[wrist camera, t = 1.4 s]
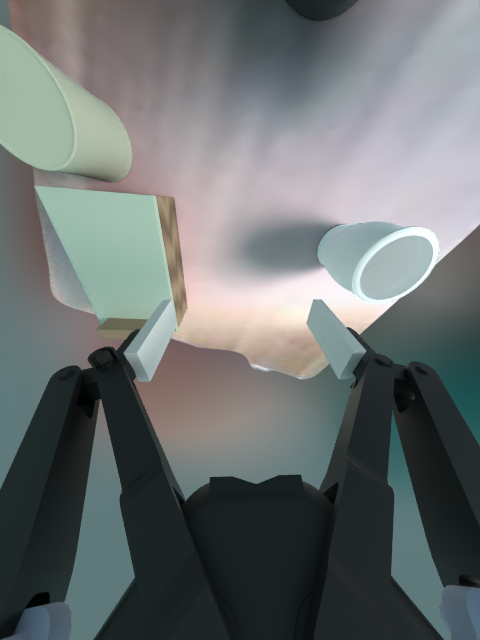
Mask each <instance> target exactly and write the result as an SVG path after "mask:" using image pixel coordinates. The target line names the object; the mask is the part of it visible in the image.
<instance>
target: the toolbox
mask: <svg viewBox="0 0 480 640" xmlns="http://www.w3.org/2000/svg"><path fill="white" fill-rule="evenodd" d="M156 200H157V206H158V212H159V217H160V223H161V229H162V235H163V241H164V247H165V253H166V259H167V265H168V271H169V276H170V282H171V288H172V294H173V300H174V306H175V312H176V318H177V324H178V327H179V325H180V323H181V321H182V318H183V316H184V314H185V312H186V309H187V301H186V293H185V284H184V276H183V268H182V260H181V251H180V243H179V235H178V227H177V218H176V210H175V202H174V198H172V197H162V196H156Z"/></svg>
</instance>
